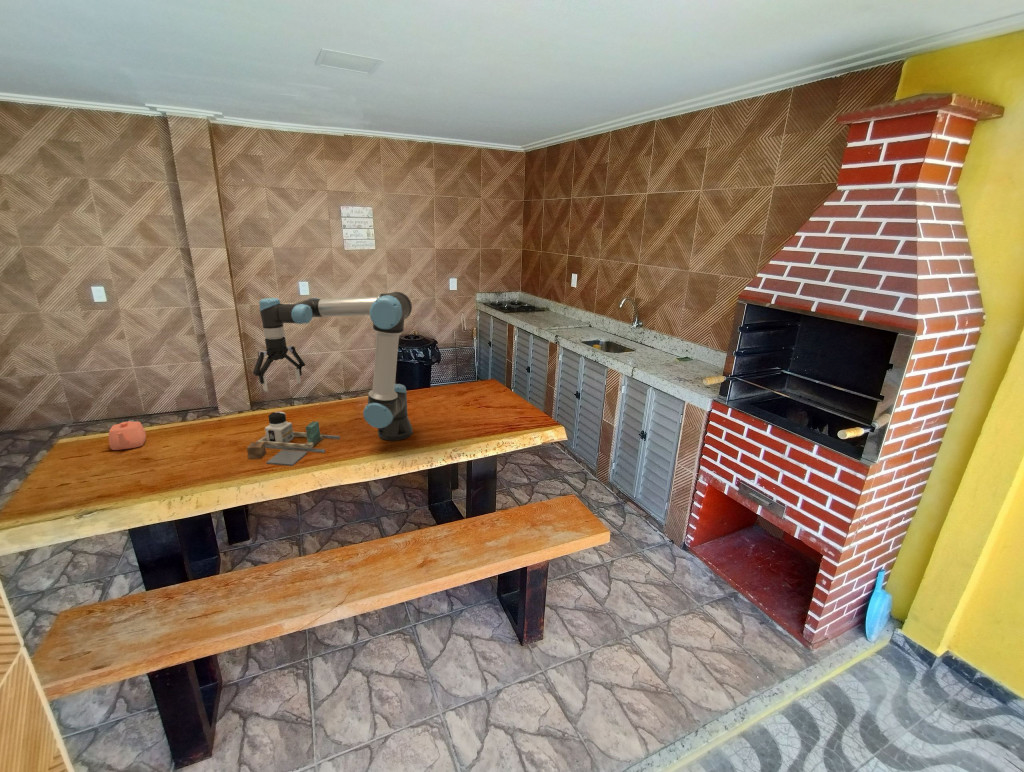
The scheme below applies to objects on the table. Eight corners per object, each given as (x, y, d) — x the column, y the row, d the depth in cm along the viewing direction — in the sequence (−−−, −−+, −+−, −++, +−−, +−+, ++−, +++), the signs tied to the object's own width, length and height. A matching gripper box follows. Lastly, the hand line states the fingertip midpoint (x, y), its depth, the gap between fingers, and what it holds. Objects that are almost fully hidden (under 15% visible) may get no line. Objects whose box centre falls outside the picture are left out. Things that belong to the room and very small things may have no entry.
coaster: (307, 453, 202) (307, 451, 202) (292, 465, 192) (292, 464, 191) (282, 451, 203) (282, 449, 203) (266, 463, 193) (266, 462, 193)
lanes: (339, 438, 216) (339, 435, 215) (324, 452, 203) (323, 450, 202) (272, 433, 220) (272, 430, 219) (252, 446, 206) (252, 444, 206)
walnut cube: (266, 452, 202) (264, 441, 200) (261, 458, 197) (260, 447, 195) (253, 453, 201) (251, 442, 199) (248, 459, 196) (246, 447, 195)
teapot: (150, 435, 215) (144, 413, 212) (141, 452, 200) (135, 429, 196) (118, 440, 210) (112, 417, 207) (106, 458, 195) (99, 434, 192)
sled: (324, 438, 215) (321, 419, 212) (310, 449, 204) (307, 429, 201) (274, 434, 218) (271, 415, 215) (258, 445, 207) (255, 425, 204)
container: (283, 446, 208) (278, 417, 203) (266, 444, 209) (262, 415, 205) (294, 438, 215) (290, 410, 211) (278, 436, 216) (274, 409, 212)
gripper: (301, 330, 209) (307, 378, 216) (238, 340, 192) (247, 391, 199) (309, 333, 204) (315, 382, 211) (245, 344, 187) (254, 396, 194)
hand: (282, 386), depth 205 cm, fingers open, 13 cm apart
